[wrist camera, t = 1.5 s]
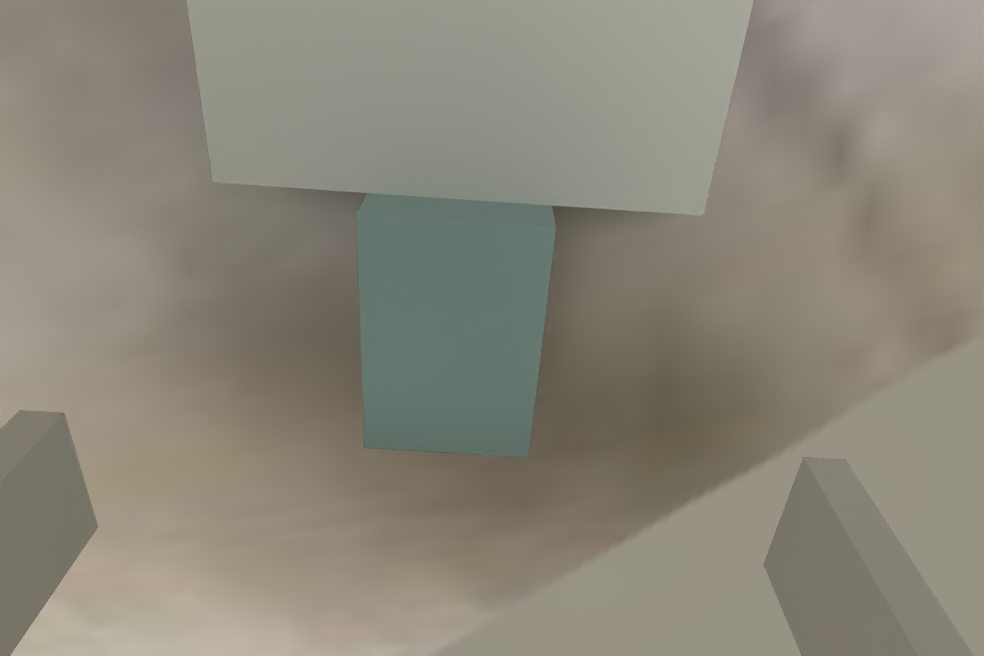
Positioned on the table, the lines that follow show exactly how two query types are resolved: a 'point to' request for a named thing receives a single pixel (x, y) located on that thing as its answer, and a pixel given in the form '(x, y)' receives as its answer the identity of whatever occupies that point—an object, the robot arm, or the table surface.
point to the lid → (465, 166)
